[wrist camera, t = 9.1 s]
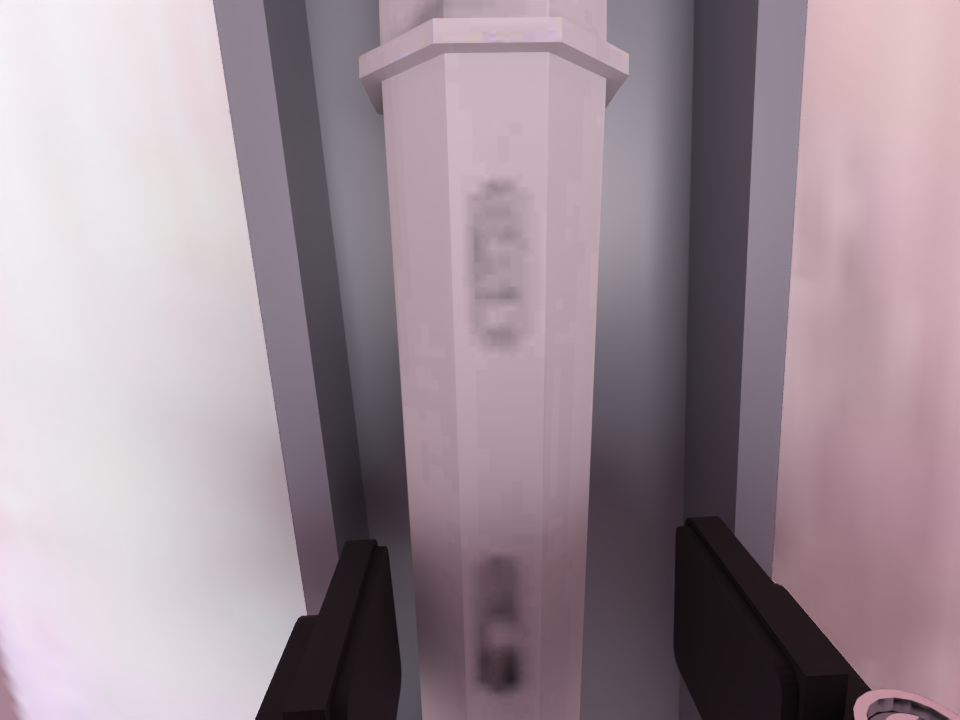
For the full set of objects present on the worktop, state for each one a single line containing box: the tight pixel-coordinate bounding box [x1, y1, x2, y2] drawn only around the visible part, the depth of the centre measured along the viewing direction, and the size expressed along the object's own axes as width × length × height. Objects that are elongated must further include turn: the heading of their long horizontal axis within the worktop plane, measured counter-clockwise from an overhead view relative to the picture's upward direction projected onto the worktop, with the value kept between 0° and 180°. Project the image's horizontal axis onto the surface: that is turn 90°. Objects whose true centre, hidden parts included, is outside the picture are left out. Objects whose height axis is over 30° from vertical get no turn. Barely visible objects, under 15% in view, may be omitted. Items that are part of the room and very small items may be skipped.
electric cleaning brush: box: [359, 0, 629, 720], centre depth 12 cm, size 5×7×25 cm
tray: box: [213, 0, 808, 720], centre depth 14 cm, size 30×10×4 cm, turn 4°
